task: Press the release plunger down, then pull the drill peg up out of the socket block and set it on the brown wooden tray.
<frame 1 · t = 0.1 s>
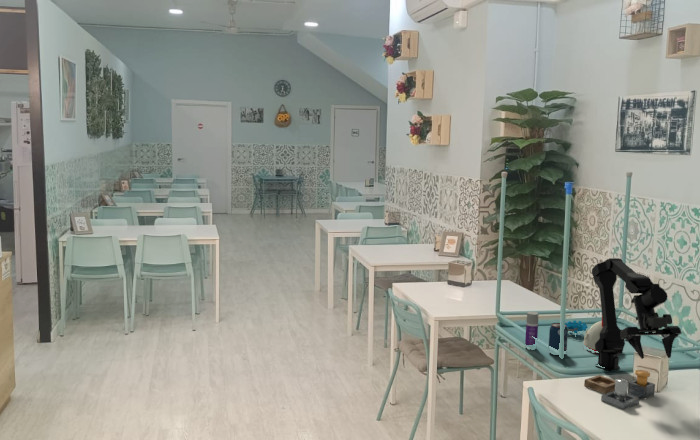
hand: (656, 358, 221), 15 cm above the table, tool tilted 30°, fingers open, 9 cm apart
container: (530, 349, 274), on the table
release plunger: (642, 379, 228), point 5 cm above the table, slide at 0.0 cm
socket block: (619, 402, 222), on the table
soda can: (557, 354, 268), on the table
drill peg: (619, 402, 222), resting in socket block
blue irregular lump: (573, 335, 292), on the table
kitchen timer: (600, 350, 274), on the table
brown wooden tray: (602, 387, 234), on the table
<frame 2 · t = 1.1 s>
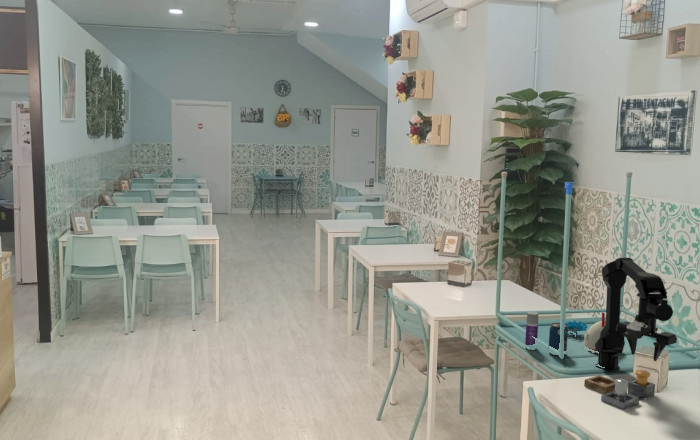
hand: (644, 357, 226), 13 cm above the table, tool pointing down, fingers open, 8 cm apart
nothing on the table moved.
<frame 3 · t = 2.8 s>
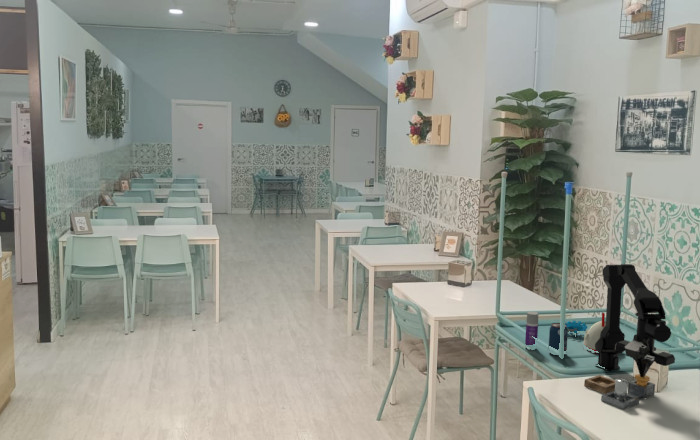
hand: (642, 376, 228), 6 cm above the table, tool pointing down, fingers closed, pressing on release plunger
release plunger: (641, 383, 228), point 4 cm above the table, slide at 1.6 cm, touching gripper
everything else where it was.
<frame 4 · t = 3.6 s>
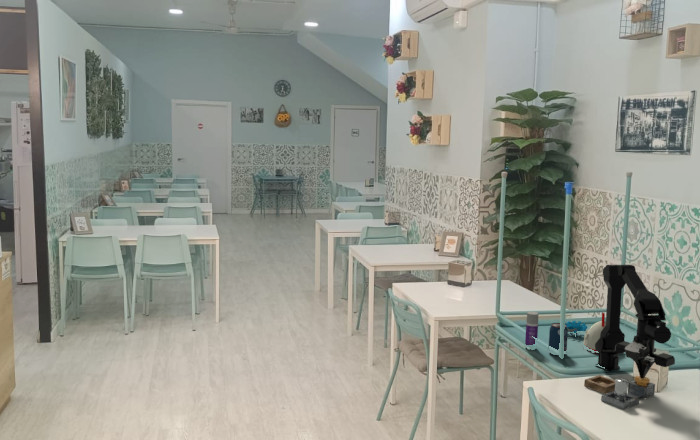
hand: (642, 378, 228), 6 cm above the table, tool pointing down, fingers closed
release plunger: (641, 385, 228), point 3 cm above the table, slide at 2.2 cm
everything else where it was.
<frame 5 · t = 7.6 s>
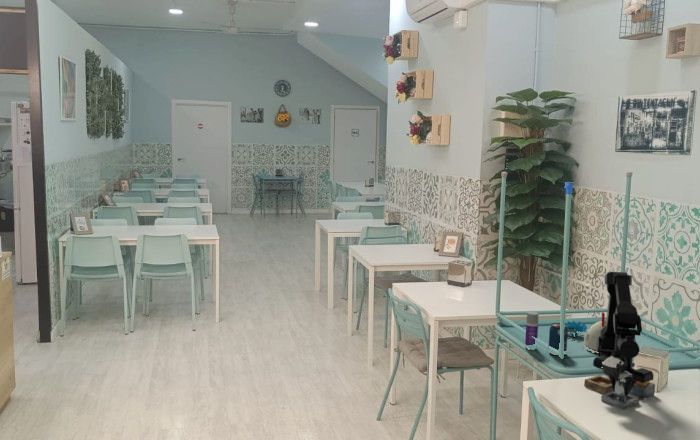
hand: (620, 393, 221), 3 cm above the table, tool pointing down, fingers closed on drill peg, 4 cm apart
drill peg: (619, 402, 222), resting in socket block, touching gripper
everything else where it was.
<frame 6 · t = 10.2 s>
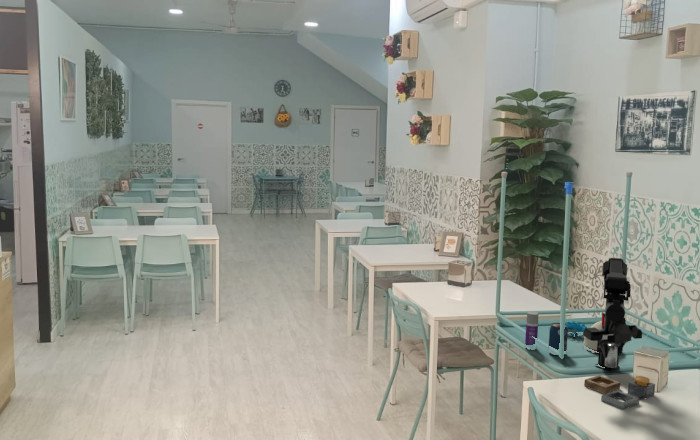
hand: (610, 357, 228), 12 cm above the table, tool pointing down, fingers closed on drill peg, 4 cm apart
drill peg: (610, 365, 228), point 9 cm above the table, touching gripper
when the fingers open (5 cm above the table, at t = 12.7 s): drill peg drops 1 cm, resting on brown wooden tray.
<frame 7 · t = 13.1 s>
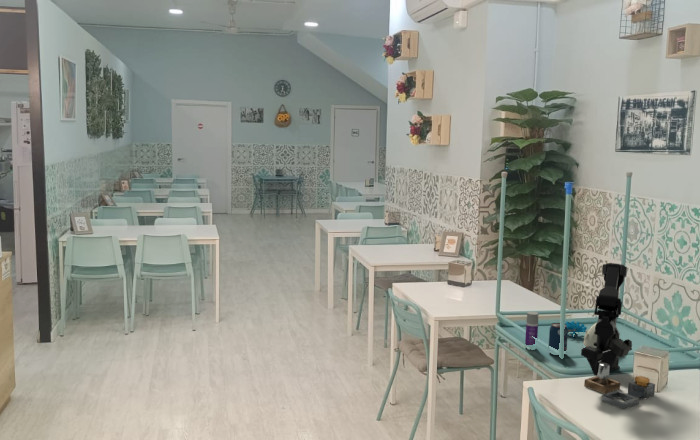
hand: (603, 372, 233), 5 cm above the table, tool pointing down, fingers open, 8 cm apart
drill peg: (602, 385, 234), point 1 cm above the table, touching brown wooden tray
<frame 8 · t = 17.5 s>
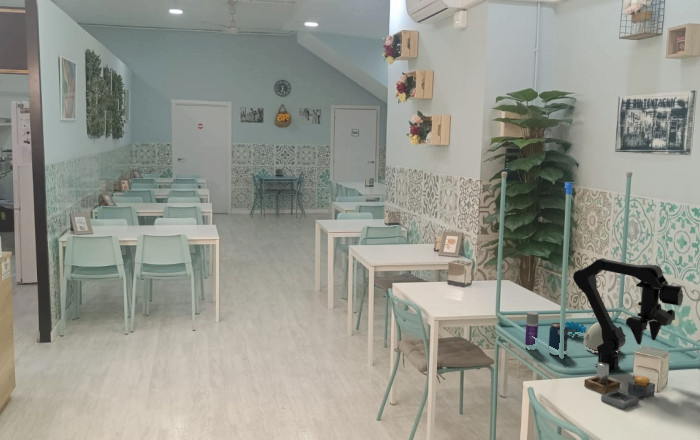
hand: (646, 342, 243), 13 cm above the table, tool pointing down, fingers open, 9 cm apart
at the end: drill peg 0.0 cm off-centre on the brown wooden tray, point 0.9 cm above the brown wooden tray's base; drill peg tilted 2°; release plunger slide at 2.2 cm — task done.
